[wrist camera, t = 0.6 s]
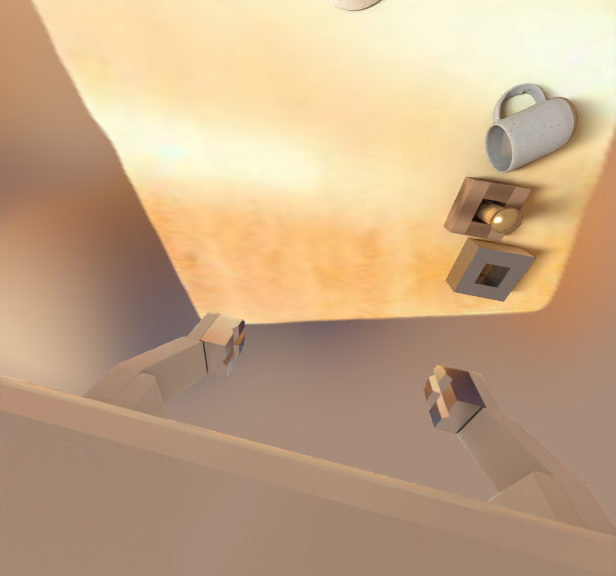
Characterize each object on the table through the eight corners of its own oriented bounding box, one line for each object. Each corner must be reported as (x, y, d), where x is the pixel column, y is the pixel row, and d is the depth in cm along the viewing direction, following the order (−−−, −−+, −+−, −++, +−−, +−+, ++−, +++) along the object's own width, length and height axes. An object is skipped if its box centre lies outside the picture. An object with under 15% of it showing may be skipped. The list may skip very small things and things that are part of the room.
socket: (467, 238, 47) (478, 247, 43) (519, 247, 47) (535, 257, 42) (445, 280, 53) (453, 291, 49) (491, 289, 52) (503, 301, 48)
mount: (465, 177, 42) (475, 180, 39) (517, 185, 42) (532, 189, 38) (443, 226, 47) (450, 232, 44) (489, 234, 46) (500, 241, 43)
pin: (473, 194, 43) (502, 207, 35) (494, 198, 43) (528, 211, 35) (463, 215, 45) (488, 231, 37) (483, 218, 45) (513, 236, 37)
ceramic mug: (546, 146, 38) (585, 146, 32) (488, 172, 41) (513, 176, 35) (540, 72, 34) (584, 53, 28) (477, 106, 37) (503, 97, 31)
